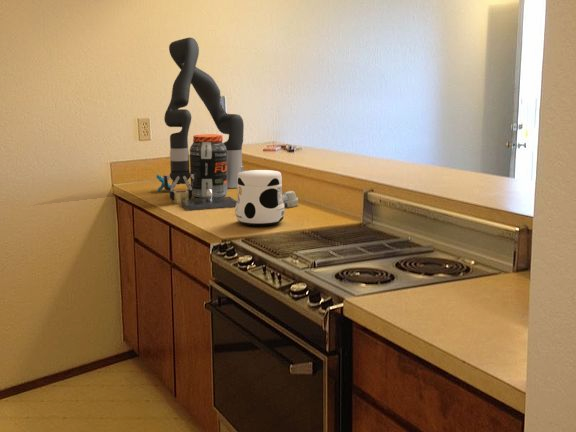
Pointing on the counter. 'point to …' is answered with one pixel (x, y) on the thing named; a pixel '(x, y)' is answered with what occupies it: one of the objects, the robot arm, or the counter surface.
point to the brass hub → (180, 196)
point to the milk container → (259, 197)
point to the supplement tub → (209, 165)
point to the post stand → (208, 202)
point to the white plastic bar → (289, 199)
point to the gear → (162, 183)
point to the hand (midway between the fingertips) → (181, 199)
